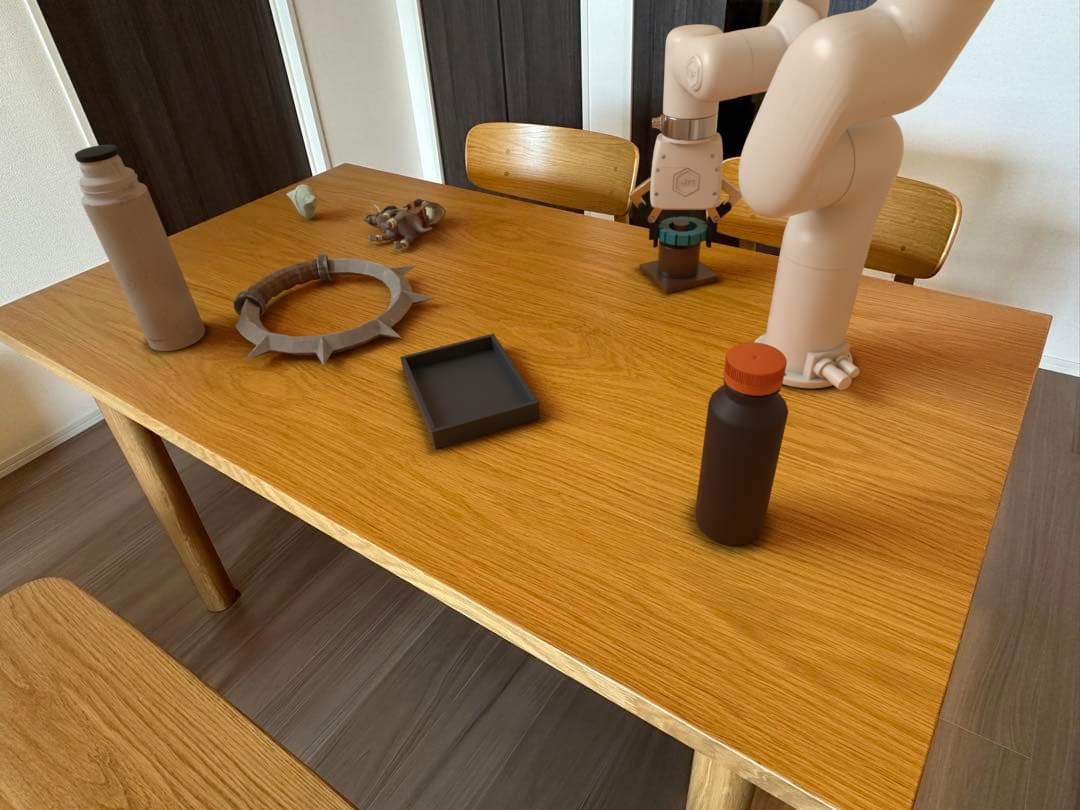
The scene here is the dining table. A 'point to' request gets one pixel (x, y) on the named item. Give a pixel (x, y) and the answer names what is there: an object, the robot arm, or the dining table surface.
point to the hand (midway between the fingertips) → (681, 243)
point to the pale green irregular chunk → (304, 200)
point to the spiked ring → (261, 292)
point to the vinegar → (742, 445)
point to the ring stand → (678, 265)
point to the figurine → (405, 221)
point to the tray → (468, 390)
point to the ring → (690, 237)
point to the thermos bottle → (138, 249)
